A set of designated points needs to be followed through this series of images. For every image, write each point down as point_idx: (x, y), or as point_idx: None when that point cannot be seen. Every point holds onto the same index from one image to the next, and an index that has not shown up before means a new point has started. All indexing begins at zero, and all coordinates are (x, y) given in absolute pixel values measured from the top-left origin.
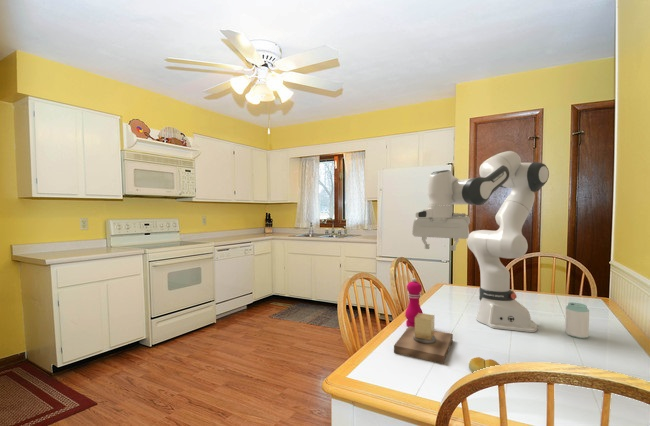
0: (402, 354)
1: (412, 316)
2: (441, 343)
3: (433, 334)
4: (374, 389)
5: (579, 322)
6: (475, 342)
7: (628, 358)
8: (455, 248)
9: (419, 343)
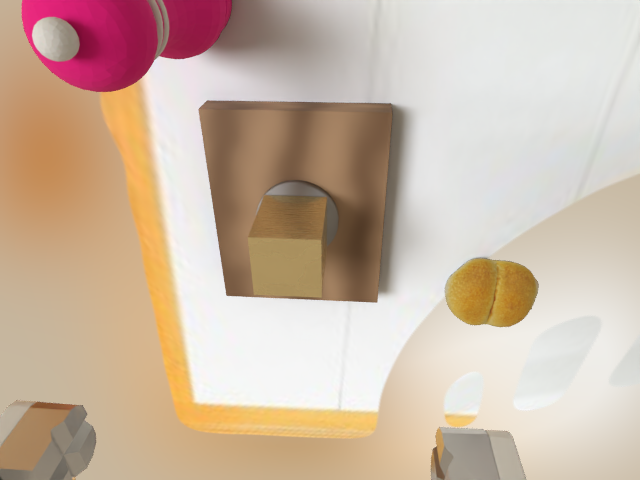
0: None
1: (181, 58)
2: (359, 225)
3: (326, 216)
4: (264, 417)
5: None
6: (486, 74)
7: None
8: (515, 457)
9: None
